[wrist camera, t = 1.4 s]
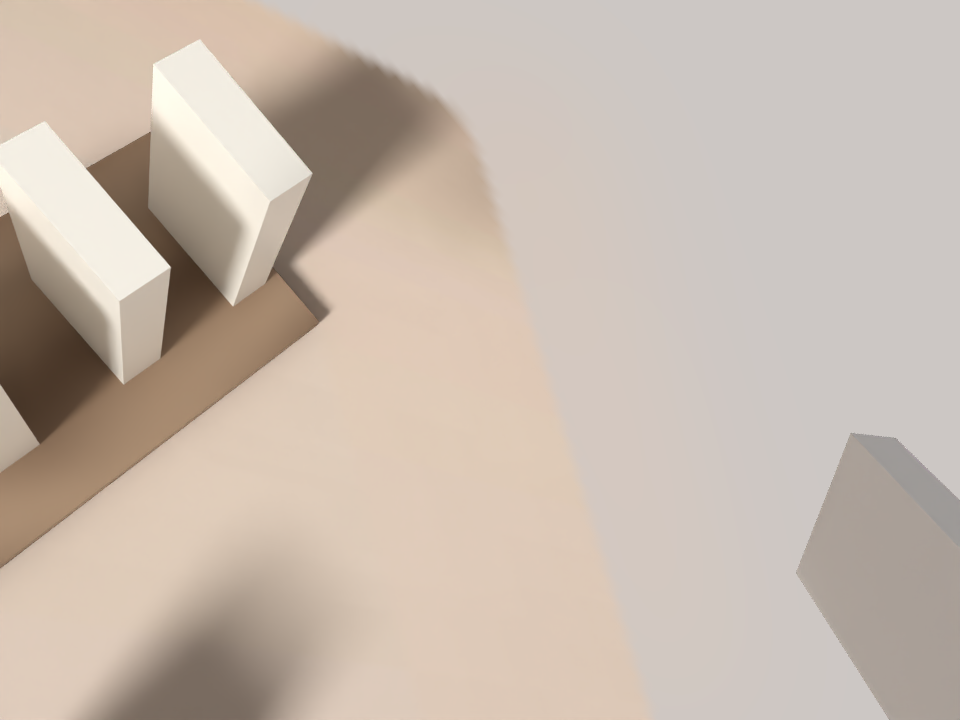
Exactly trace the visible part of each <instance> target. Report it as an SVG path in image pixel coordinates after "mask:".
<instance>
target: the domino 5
mask: <svg viewBox="0 0 960 720" xmlns="http://www.w3.org/2000/svg"><path fill="white" fill-rule="evenodd" d="M312 174H313V173H312V172H311V171H310V170H309V168H308V167H307V166H306V165H305V164H304V162H303V161H302V160H301V159H300V158H299V157H298V155H297V154H296V153H295V152H294V151H293V149H292V148H291V147H290V146H289V145H288V143H287V142H286V141H285V140H284V139H283V138H282V136H281V135H280V134H279V133H278V132H277V130H276V129H275V128H274V127H273V126H272V124H271V123H270V122H269V121H268V120H267V119H266V117H265V116H264V115H263V114H262V113H261V111H260V110H259V109H258V108H257V107H256V105H255V104H254V103H253V102H252V101H251V100H250V98H249V97H248V96H247V95H246V94H245V92H244V91H243V90H242V89H241V88H240V86H239V85H238V84H237V83H236V82H235V81H234V79H233V78H232V77H231V76H230V75H229V73H228V72H227V71H226V70H225V69H224V67H223V66H222V65H221V64H220V63H219V62H218V60H217V59H216V58H215V57H214V56H213V54H212V53H211V52H210V51H209V50H208V48H207V47H206V46H205V45H204V44H203V43H202V41H201V40H198V41H196V42H194V43H192V44H190V45H188V46H186V47H184V48H182V49H181V50H179V51H177V52H175V53H173V54H171V55H169V56H167V57H165V58H164V59H162V60H160V61H158V62H156V63H154V64H153V87H152V114H151V141H150V168H149V196H148V208H149V210H150V211H151V212H152V213H153V214H154V215H155V216H156V218H157V219H158V220H159V221H160V222H161V223H162V225H163V226H164V227H165V228H166V229H167V230H168V232H169V233H170V234H171V235H172V236H173V237H174V239H175V240H176V241H177V242H178V243H179V244H180V246H181V247H182V248H183V249H184V250H185V251H186V253H187V254H188V255H189V256H190V257H191V258H192V260H193V261H194V262H195V263H196V264H197V265H198V266H199V268H200V269H201V270H202V271H203V272H204V273H205V275H206V276H207V277H208V278H209V279H210V280H211V282H212V283H213V284H214V285H215V286H216V287H217V289H218V290H219V291H220V292H221V293H222V294H223V296H224V297H225V298H226V299H227V300H228V301H229V303H230V304H231V305H232V306H235V305H236V304H238V303H239V302H240V301H242V300H243V299H245V298H246V297H247V296H249V295H250V294H252V293H253V292H254V291H256V290H257V289H259V288H260V287H261V286H263V285H264V284H265V283H266V281H267V278H268V276H269V274H270V271H271V269H272V267H273V264H274V262H275V260H276V257H277V255H278V253H279V250H280V248H281V246H282V243H283V241H284V239H285V237H286V234H287V232H288V230H289V227H290V225H291V223H292V220H293V218H294V216H295V213H296V211H297V209H298V206H299V204H300V202H301V199H302V197H303V195H304V193H305V190H306V188H307V186H308V183H309V181H310V179H311V176H312Z"/></svg>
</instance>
